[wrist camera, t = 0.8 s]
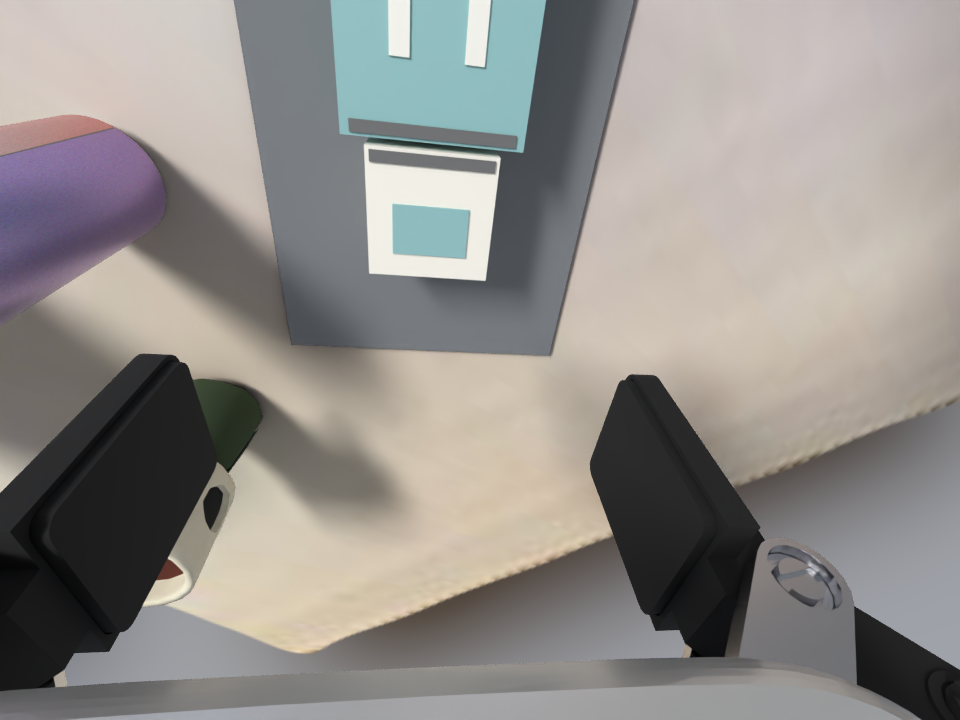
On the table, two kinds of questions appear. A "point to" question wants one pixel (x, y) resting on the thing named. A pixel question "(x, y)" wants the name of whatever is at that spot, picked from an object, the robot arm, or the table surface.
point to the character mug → (209, 487)
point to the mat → (342, 191)
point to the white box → (429, 208)
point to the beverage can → (68, 203)
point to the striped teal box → (437, 69)
